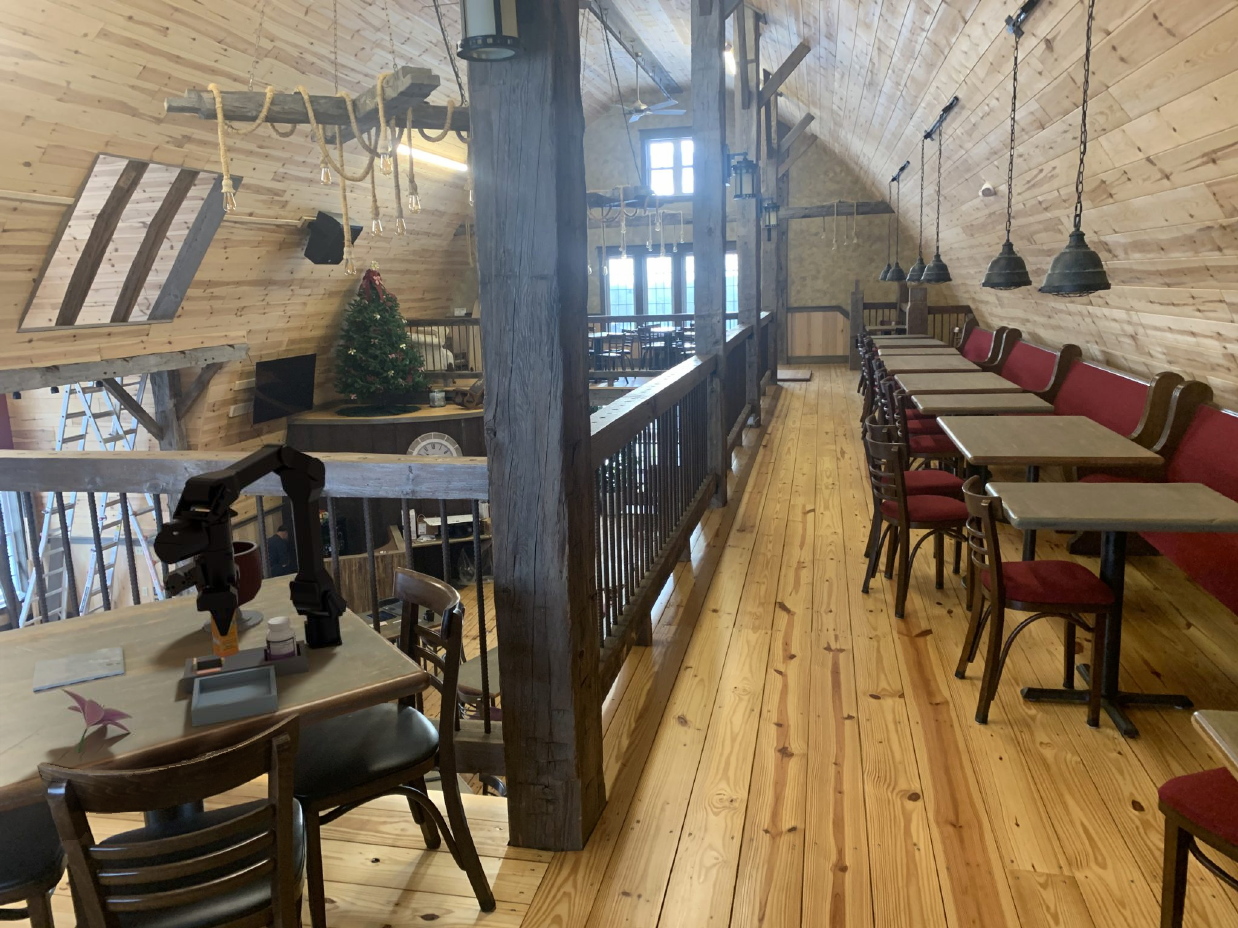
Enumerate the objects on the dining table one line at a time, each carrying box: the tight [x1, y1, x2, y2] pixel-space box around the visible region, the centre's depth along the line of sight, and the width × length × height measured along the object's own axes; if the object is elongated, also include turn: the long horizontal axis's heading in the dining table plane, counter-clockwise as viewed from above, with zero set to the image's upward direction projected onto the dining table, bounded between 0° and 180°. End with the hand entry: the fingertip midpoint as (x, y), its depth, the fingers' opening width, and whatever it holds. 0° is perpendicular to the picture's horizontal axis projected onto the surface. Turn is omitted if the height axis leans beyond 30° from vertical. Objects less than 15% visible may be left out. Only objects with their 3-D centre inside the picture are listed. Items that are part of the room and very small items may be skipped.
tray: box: [190, 665, 279, 728], centre depth 159 cm, size 14×14×3 cm
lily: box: [60, 688, 134, 753], centre depth 146 cm, size 12×12×10 cm
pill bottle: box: [265, 615, 297, 661], centre depth 173 cm, size 5×5×10 cm
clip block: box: [182, 639, 309, 694], centre depth 171 cm, size 22×9×4 cm, turn 113°
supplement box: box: [209, 612, 240, 658], centre depth 158 cm, size 3×3×10 cm
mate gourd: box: [192, 540, 265, 633], centre depth 196 cm, size 16×14×20 cm
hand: (224, 631), depth 158 cm, fingers closed on supplement box, 4 cm apart
